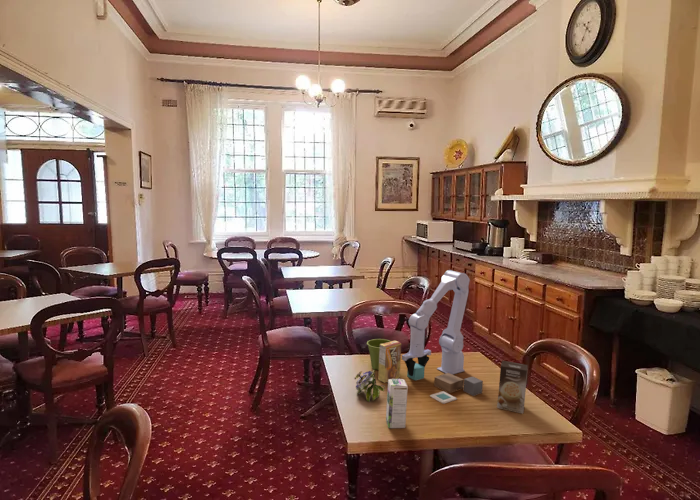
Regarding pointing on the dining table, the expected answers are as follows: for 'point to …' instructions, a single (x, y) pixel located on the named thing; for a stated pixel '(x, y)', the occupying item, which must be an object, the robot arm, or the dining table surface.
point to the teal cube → (417, 372)
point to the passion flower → (365, 382)
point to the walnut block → (448, 382)
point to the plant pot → (375, 351)
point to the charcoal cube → (473, 386)
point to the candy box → (389, 361)
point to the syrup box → (396, 403)
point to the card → (443, 397)
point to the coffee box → (512, 386)
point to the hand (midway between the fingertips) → (415, 374)
